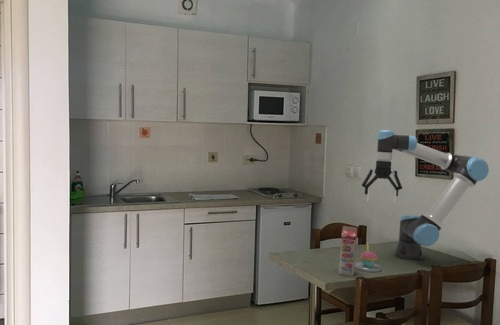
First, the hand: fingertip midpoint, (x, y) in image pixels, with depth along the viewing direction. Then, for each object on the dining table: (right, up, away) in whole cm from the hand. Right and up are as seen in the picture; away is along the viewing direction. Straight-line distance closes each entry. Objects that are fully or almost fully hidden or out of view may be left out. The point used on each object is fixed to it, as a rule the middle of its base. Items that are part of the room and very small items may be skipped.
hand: (380, 201), depth 236 cm
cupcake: (-9, -31, -10) cm, 34 cm away
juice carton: (-22, -32, -19) cm, 43 cm away
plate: (-9, -32, -10) cm, 35 cm away
